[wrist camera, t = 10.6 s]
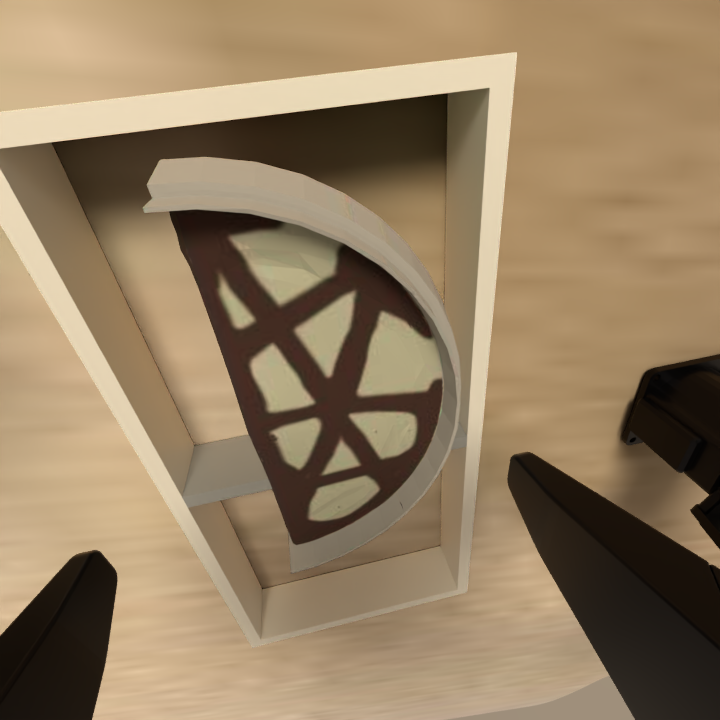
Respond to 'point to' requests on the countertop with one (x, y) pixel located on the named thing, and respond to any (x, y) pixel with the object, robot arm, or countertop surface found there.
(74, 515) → the countertop surface
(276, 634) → the divided tray
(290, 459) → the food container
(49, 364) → the countertop surface
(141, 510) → the countertop surface
